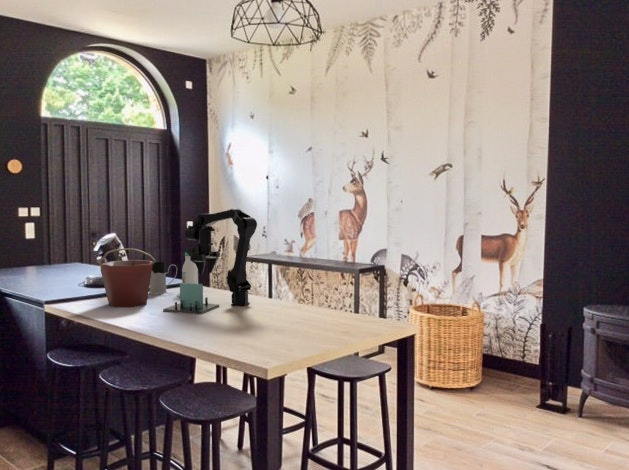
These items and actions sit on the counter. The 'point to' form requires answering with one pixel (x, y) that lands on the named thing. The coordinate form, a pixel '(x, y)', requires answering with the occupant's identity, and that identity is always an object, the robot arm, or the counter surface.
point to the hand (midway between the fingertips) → (205, 274)
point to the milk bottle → (189, 271)
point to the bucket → (126, 280)
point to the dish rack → (191, 309)
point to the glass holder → (159, 278)
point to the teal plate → (191, 294)
